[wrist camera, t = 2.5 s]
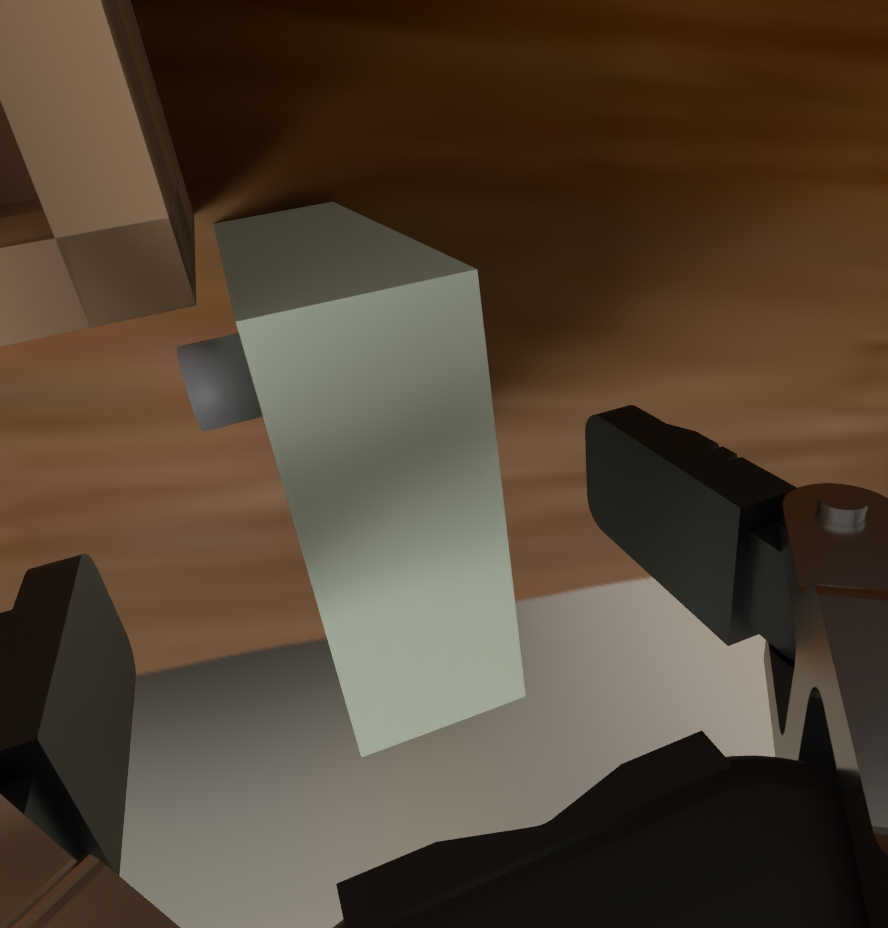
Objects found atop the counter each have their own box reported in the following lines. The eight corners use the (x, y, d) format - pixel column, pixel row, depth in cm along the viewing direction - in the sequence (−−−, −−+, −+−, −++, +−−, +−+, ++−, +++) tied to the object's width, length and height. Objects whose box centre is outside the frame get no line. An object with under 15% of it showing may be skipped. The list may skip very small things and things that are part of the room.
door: (332, 201, 18) (477, 268, 9) (384, 459, 22) (525, 696, 13) (173, 230, 18) (151, 340, 8) (256, 494, 21) (306, 777, 12)
